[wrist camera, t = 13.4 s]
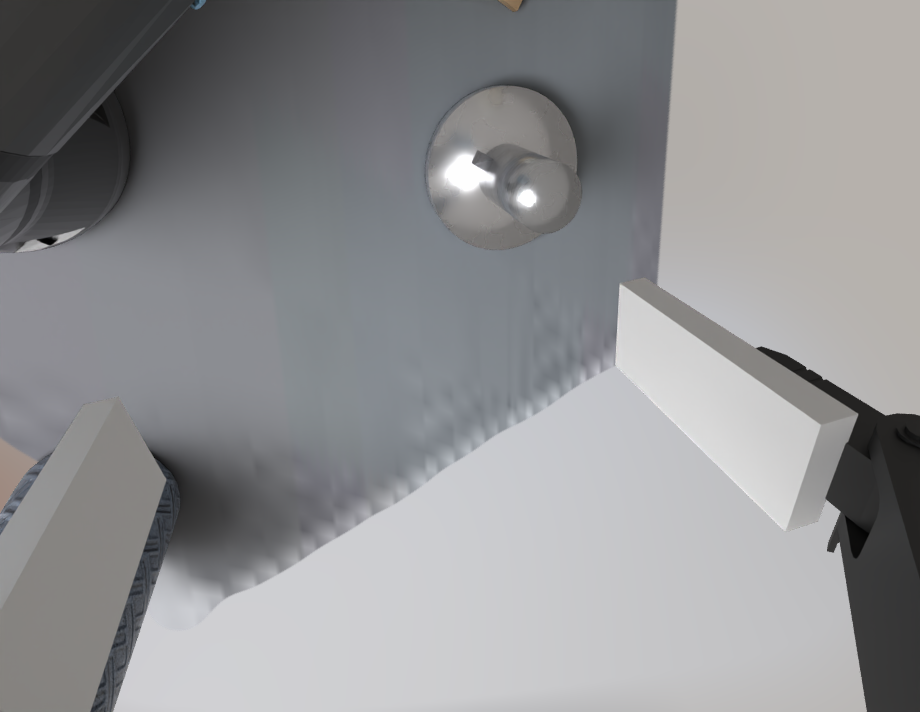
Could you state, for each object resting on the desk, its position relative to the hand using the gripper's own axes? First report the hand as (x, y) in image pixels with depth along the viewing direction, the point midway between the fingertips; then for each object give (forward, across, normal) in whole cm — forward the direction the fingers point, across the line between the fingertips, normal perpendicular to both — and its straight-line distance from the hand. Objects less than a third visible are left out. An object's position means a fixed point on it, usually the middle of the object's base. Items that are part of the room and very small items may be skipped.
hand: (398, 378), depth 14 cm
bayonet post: (+29, +12, -2) cm, 31 cm away
